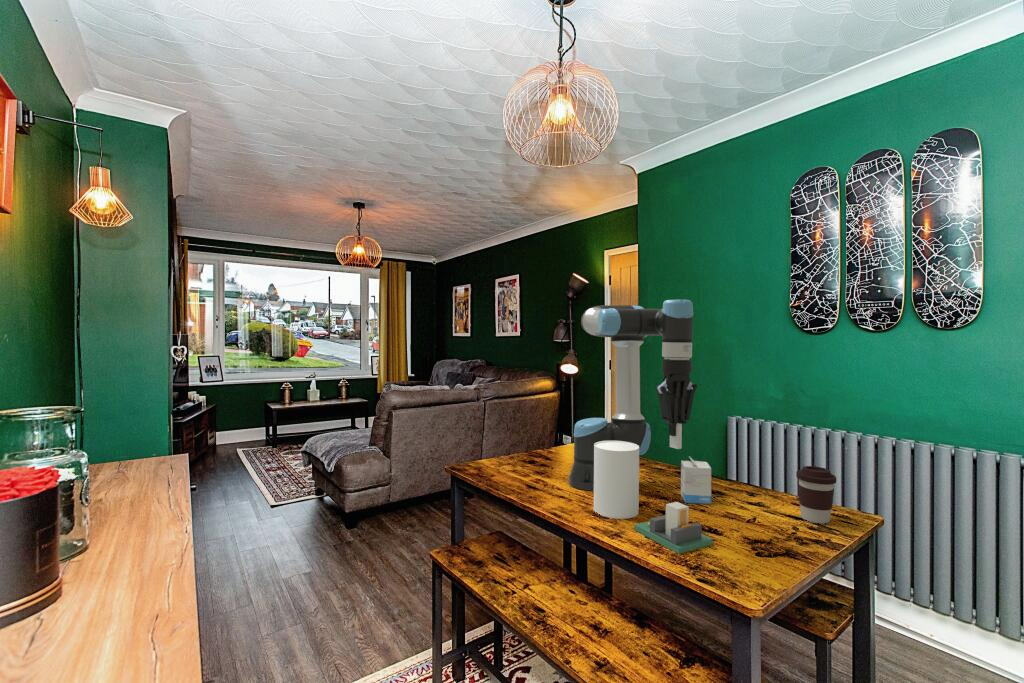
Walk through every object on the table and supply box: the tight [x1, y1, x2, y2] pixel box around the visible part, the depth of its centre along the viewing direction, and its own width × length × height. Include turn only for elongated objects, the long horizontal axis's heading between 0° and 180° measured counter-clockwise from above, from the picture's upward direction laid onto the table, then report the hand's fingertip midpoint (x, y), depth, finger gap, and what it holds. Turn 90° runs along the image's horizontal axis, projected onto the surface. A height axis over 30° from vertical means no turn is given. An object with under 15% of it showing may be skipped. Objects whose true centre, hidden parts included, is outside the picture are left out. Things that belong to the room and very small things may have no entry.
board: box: [634, 514, 714, 555], centre depth 127 cm, size 16×12×5 cm
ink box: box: [680, 456, 712, 505], centre depth 156 cm, size 9×8×13 cm
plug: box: [665, 501, 690, 537], centre depth 124 cm, size 4×4×8 cm
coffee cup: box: [795, 465, 837, 525], centre depth 140 cm, size 10×10×15 cm
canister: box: [593, 441, 640, 520], centre depth 146 cm, size 14×14×20 cm
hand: (675, 447), depth 126 cm, fingers closed
